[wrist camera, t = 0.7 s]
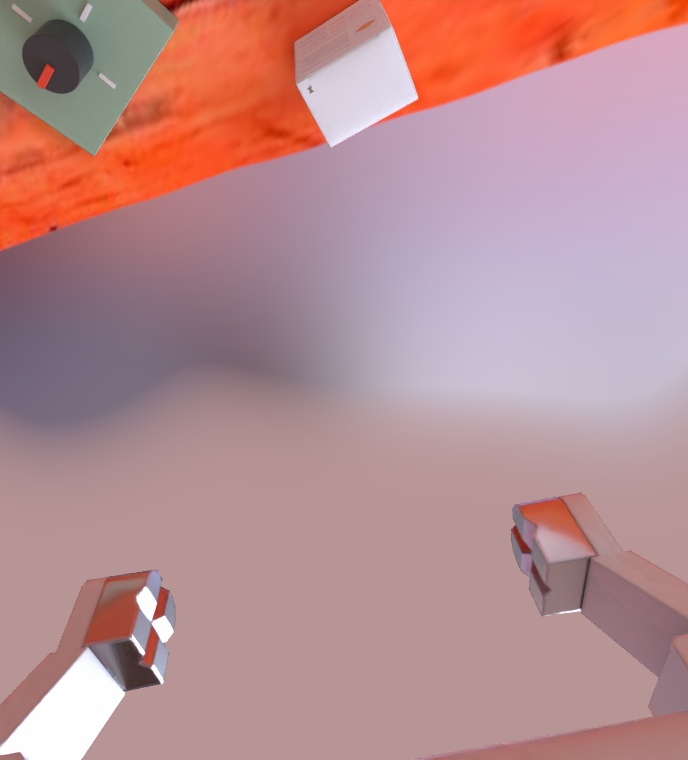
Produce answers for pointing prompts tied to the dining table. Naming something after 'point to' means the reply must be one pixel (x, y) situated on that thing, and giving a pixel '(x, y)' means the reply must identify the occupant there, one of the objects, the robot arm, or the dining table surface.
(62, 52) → the dial
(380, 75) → the small box
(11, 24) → the dial console
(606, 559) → the robot arm
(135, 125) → the dining table surface
